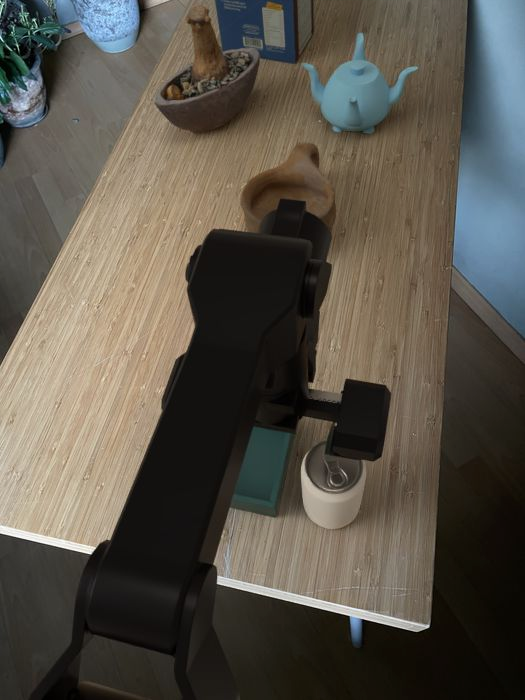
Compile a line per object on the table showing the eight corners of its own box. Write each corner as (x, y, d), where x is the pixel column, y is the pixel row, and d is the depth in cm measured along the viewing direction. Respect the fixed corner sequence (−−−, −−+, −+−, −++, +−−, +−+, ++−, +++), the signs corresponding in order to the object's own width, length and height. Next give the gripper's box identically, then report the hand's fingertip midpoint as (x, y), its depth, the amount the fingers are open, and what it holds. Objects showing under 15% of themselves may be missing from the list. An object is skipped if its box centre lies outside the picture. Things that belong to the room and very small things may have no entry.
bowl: (242, 170, 94) (253, 119, 85) (327, 189, 96) (346, 140, 87) (229, 257, 85) (240, 208, 76) (323, 276, 87) (344, 230, 78)
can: (311, 537, 65) (310, 505, 55) (296, 482, 69) (292, 443, 58) (368, 522, 66) (377, 488, 55) (350, 467, 69) (355, 426, 59)
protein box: (241, 21, 118) (232, -65, 105) (314, 32, 114) (314, -56, 101) (220, 52, 113) (207, -35, 100) (296, 65, 109) (292, -24, 96)
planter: (163, 149, 100) (131, 35, 83) (186, 87, 109) (162, -29, 92) (248, 154, 98) (233, 37, 81) (265, 90, 106) (255, -28, 89)
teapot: (301, 116, 102) (299, 62, 93) (361, 84, 105) (364, 28, 96) (349, 155, 96) (351, 101, 87) (411, 120, 99) (419, 64, 90)
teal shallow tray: (276, 517, 67) (274, 507, 63) (182, 497, 69) (175, 486, 65) (296, 427, 72) (295, 414, 69) (209, 411, 74) (203, 397, 71)
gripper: (409, 292, 46) (388, 384, 59) (182, 261, 49) (211, 355, 63) (391, 421, 40) (373, 491, 54) (138, 376, 44) (180, 452, 57)
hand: (280, 441), depth 57 cm, fingers open, 9 cm apart
